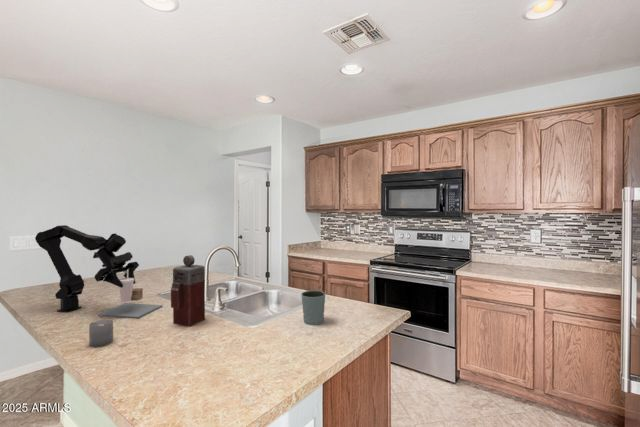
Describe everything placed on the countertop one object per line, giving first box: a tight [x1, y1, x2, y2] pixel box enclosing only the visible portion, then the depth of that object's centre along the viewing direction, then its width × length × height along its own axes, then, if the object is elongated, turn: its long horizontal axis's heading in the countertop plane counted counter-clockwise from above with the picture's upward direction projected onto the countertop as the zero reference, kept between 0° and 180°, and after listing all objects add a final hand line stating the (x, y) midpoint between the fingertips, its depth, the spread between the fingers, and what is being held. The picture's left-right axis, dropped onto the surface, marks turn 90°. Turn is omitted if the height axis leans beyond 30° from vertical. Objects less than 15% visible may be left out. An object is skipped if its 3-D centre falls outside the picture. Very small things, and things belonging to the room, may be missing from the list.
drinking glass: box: [300, 290, 326, 326], centre depth 134 cm, size 10×10×12 cm
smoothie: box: [118, 270, 135, 303], centre depth 141 cm, size 6×6×14 cm
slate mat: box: [97, 302, 163, 320], centre depth 145 cm, size 20×16×1 cm
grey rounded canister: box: [88, 319, 114, 348], centre depth 112 cm, size 7×7×7 cm
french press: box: [170, 254, 206, 327], centre depth 132 cm, size 9×11×28 cm
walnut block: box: [131, 287, 144, 301], centre depth 164 cm, size 5×5×5 cm
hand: (128, 285), depth 141 cm, fingers closed on smoothie, 6 cm apart
